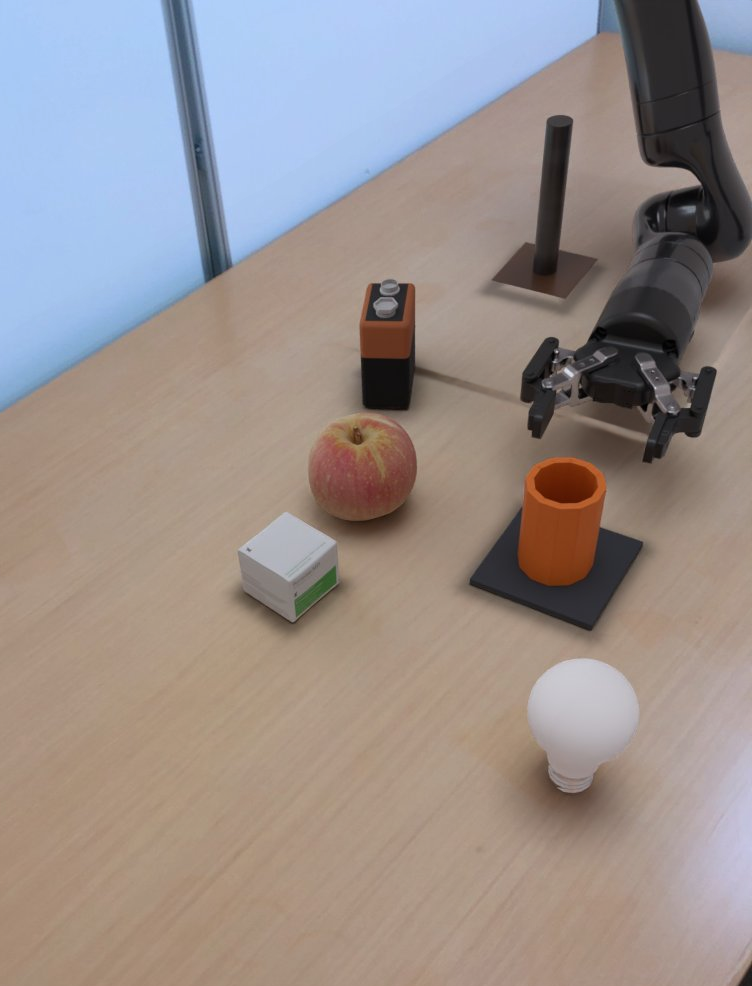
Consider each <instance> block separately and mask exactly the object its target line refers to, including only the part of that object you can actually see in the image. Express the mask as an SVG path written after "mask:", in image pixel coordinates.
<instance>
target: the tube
mask: <svg viewBox="0 0 752 986" xmlns="http://www.w3.org/2000/svg"><path fill="white" fill-rule="evenodd" d="M607 487H608V486H607V483H606V477H605V474H604V473H603V472H602V471H601V470H599V468H597V467H596V466H595V465H594V464H593V463H591V462H588V461H585V460H583V459H579V458H576V457H573V456H572V457H571V456H567V457H565V456H564V457H562V456H561V457H551V458H548V459H546V460H543V461H541V462H538V463H536V464H534V465H533V466H532V468H531V469H530V470H529V472H528V473H527V475H526V476H525V480H524V491H523V499H522V506H523V508H522V507H521V508H522V518H521V527H520V537H519V547H518V561H519V567H520V568H521V570H522V571H523V572H524V573H525V574H526V575H527V576H528V577H529V578H530V579H531V580H534V581H537V582H539V583H542V584H545V585H547V586H568V585H571V584H573V583H575V582H578V581H580V580H582V579H584V578H585V577H586V576H587V574H588V573H589V571H590V570H591V568H592V566H593V562H594V557H595V551H596V545H597V540H598V534H599V528H600V527H601V522H602V516H603V511H604V505H605V499H606V495H607V494H606V493H607V490H608V489H607Z"/></svg>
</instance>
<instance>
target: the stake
mask: <svg viewBox="0 0 752 986" xmlns="http://www.w3.org/2000/svg"><path fill="white" fill-rule="evenodd" d="M573 128H574V118H572V117H571V116H569V115H565V114H556V115H555V114H554V115H552V116H549V117H548V118H547V119H546V122H545V132H544V141H543V142H544V143H543V154H542V163H541V164H542V165H541V175H540V187H539V188H540V189H539V195H538V197H539V198H538V199H539V200H538V208H537V218H536V229H535V230H536V231H535V238H534V239H535V241H534V243H531V242H527V241H525V242H524V243H523V245H521V247H520V248H519V249H518V250H517V251H516V252H515V253H514V254H513V255H512V256H511V257H510V258H509V260H508V261H507V262H506V263H505V264H504V265H503V266H502V268H501V269H500V270H499V271H498V272H497V273H496V274H495V275H494V276H493V278H492V279H491V281H493V282H496V283H499V284H500V283H501V284H503V285H504V284H506V285H508V286H513V287H516V288H520V289H524V290H529V291H532V292H537V293H540V294H544V295H548V296H552V297H556V298H561V299H565V300H566V299H567V297H568V296H570V294H571V293H572V291H573V290H574V289H575V288H576V287H577V285H578V284H579V283H580V282H581V281H582V279H583V278H584V277H585V276H586V275H587V273H588V272H589V271H590V270H591V268H592V267H593V266H594V265H595V264H596V262H597V261H598V260H599V259H598V258H597V257H592V256H588V255H583V254H578V253H574V252H571V251H566V250H562V249H560V245H561V236H562V227H563V220H564V219H563V218H564V210H565V200H566V193H567V183H568V173H569V163H570V157H571V156H570V155H571V147H572V138H573Z"/></svg>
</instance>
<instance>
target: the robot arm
mask: <svg viewBox="0 0 752 986" xmlns="http://www.w3.org/2000/svg"><path fill="white" fill-rule="evenodd" d="M612 2H613V6H614V10H615V11H614V12H615V15H616V20H617V24H618V29H619V34H620V39H621V45H622V50H623V55H624V61H625V67H626V75H627V81H628V87H629V94H630V101H631V106H632V107H631V109H632V114H633V121H634V127H635V128H634V129H635V132H636V140H637V147H638V151H639V155H640V158H641V160H642V162H643V163H644V164H645V165H646V166H648V167H652V168H659V169H660V168H661V169H681V170H686V171H688V172H690V173H691V174H692V175H693V176H694V177H695V178H696V179H697V180H698V182H699V183H700V184H695V185H691V186H686V187H681V188H677V189H671V190H667V191H661V192H659V193H656V194H653V195H651V196H650V197H647V199H645V200H644V201H642V203H640V205H639V206H638V207H637V208H636V210H635V212H634V214H633V217H632V222H631V238H632V254H631V261H630V263H629V265H628V267H627V268H626V270H625V273H624V274H623V277H622V278H621V280H620V281H619V282H618V283H617V284H616V286H615V287H614V289H613V290H612V292H611V294H610V296H609V298H608V300H607V301H606V304H605V305H604V307H603V309H602V311H601V313H600V315H599V317H598V319H597V321H596V323H595V325H594V327H593V329H592V331H591V333H590V335H589V336H588V339H587V341H586V343H585V344H584V345H582V346H580V347H579V348H578V347H577V349H576V350H572V349H568V348H565V347H559V346H560V339H559V338H558V337H554V336H548V337H546V338H545V339H544V340H543V341H542V343H541V344H540V345H539V347H538V348H537V350H536V351H535V352H534V354H533V356H532V358H531V359H530V361H529V362H528V364H527V365H526V366H525V368H524V370H523V371H522V373H521V383H520V393H519V394H520V395H519V400H520V401H521V402H522V403H524V404H525V403H526V404H530V403H532V404H531V406H530V408H529V409H528V413H527V423H526V428H527V431H531V436H530V437H531V438H532V439H537V440H542V438H543V436H544V434H545V432H546V430H547V428H548V426H549V424H550V423H551V420H552V418H553V416H554V415H555V411H556V410H558V409H561V408H563V407H565V406H569V407H570V408H575V407H577V406H579V405H582V404H584V403H587V402H590V401H591V400H592V402H593V403H594V402H595V403H599V404H612V405H615V406H617V407H620V408H623V409H629V410H632V409H633V408H636V409H637V410H638V412H639V413H640V415H641V416H642V417H643V419H644V421H645V422H646V424H651V425H652V427H651V429H650V432H649V434H648V436H647V439H646V441H645V446H644V451H643V454H642V455H643V456H642V460H641V462H642V463H645V464H649V465H652V464H653V462H654V460H655V459H658V460H661V459H662V458H664V457H665V456H666V455H667V451H668V448H669V446H670V444H671V441H672V439H673V437H674V436H675V435H676V434H680V433H681V434H682V433H684V435H685V436H686V437H688V438H691V439H694V438H695V439H696V438H698V437H700V436H701V434H702V431H703V428H704V423H705V421H706V420H705V419H706V416H707V412H708V408H709V405H710V401H711V398H712V393H713V389H714V385H715V381H716V377H717V374H718V373H717V372H718V370H717V368H716V367H714V366H711V365H710V366H709V365H706V366H702V367H701V368H700V370H699V373H696V372H689V371H682V370H681V367H680V365H681V362H682V360H683V357H684V354H685V352H686V350H687V347H688V345H689V344H690V342H691V341H692V339H693V336H695V335H694V334H695V329H696V326H697V323H698V320H699V315H700V309H701V306H702V304H703V301H704V299H705V297H706V294H707V292H708V290H709V287H710V284H711V282H712V279H713V275H714V274H713V273H714V264H720V263H725V262H729V261H732V260H734V259H737V258H739V257H740V256H742V255H743V254H744V253H745V252H746V251H747V249H748V248H749V246H750V244H751V243H752V198H751V195H750V193H749V190H748V189H747V185H746V183H745V182H744V180H743V177H742V175H741V173H740V171H739V168H738V166H737V164H736V162H735V159H734V157H733V154H732V151H731V148H730V146H729V142H728V140H727V136H726V134H725V133H726V132H725V129H724V125H723V121H722V112H721V109H720V108H721V103H720V96H719V95H720V94H719V86H718V78H717V71H716V64H715V58H714V52H713V48H712V43H711V39H710V34H709V31H708V27H707V24H706V21H705V18H704V17H705V16H704V14H703V11H702V9H701V6H700V3H699V0H612ZM562 369H563V370H562ZM561 370H562V371H561ZM560 371H561V372H560ZM558 372H559V373H558ZM580 386H581V387H580ZM677 388H678V389H681V390H682V391H683V395H684V397H686V398H687V399H686V403H688V404H690V406H689V407H681V405H680V404H679V402H678V401H677V400H676V398H675V397H674V395H673V394H672V393H673V392H674V391H676V389H677ZM560 389H561V390H560ZM559 390H560V391H559ZM557 391H559V392H557Z"/></svg>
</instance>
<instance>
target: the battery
mask: <svg viewBox="0 0 752 986" xmlns="http://www.w3.org/2000/svg"><path fill="white" fill-rule="evenodd" d="M360 314H361V315H360V319H359V325H358V326H359V327H358V328H359V329H358V330H359V349H360V352H359V353H360V375H361V396H362V397H361V399H362V405H363V407H365V408H367V409H368V408H369V409H404V410H405V409H407V408H409V407H410V404H411V399H412V390H413V386H414V385H413V384H414V377H415V369H416V286H415V284H413V282H412V283H410V282H399V281H398V280H397V279H395V278H386V279H383V280H382V281H381V282H370V283H369V284H368V285H367V287H366V290H365V295H364V300H363V304H362V310H361V313H360Z"/></svg>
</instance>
